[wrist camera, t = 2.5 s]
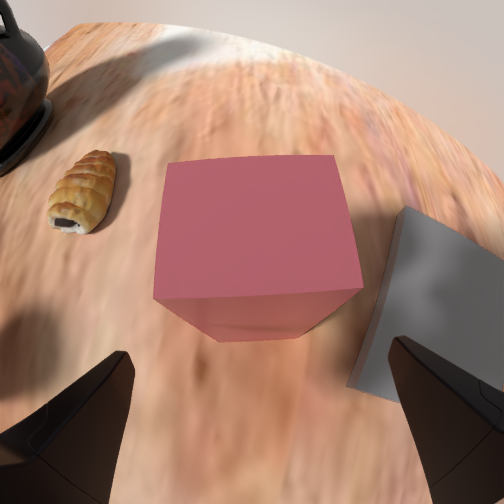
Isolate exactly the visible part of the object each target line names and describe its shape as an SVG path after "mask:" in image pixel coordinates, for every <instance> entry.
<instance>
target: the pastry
mask: <svg viewBox="0 0 504 504" xmlns="http://www.w3.org/2000/svg"><path fill="white" fill-rule="evenodd" d="M115 176H116V165H115V162H114V159H113V157H112V156H111V155H110V154H109V153H108V152H107V151H99V150H94V151H92V152H90V153H88V154H86V155H85V156H84V157H83V158H82V159H81V160H80V161H78V162H76V163H75V164H74V166H73V168H72V169H70V170H68V171H66V173H65V176H64V178H63V179H62V180H60V181H58V182H57V184H56V191H55V192H54V193H53V194H52V195H51V196H50V198H49V207H50V209H49V210H48V211H47V216H48V222H49V225H50V226H51V227H52V228H54V229H59V230H61V231H62V232H64V233H72V232H77V233H78V234H87V233H89V232H90V231H91V230H92V229H93V228H94V227H96V226H97V225H98V224H99V223H100V222H101V221H102V220H103V218H104V217H105V215H106V211H107V208H108V206H109V205H110V203H111V198H112V193H113V189H114V181H115Z"/></svg>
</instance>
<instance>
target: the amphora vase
mask: <svg viewBox="0 0 504 504" xmlns="http://www.w3.org/2000/svg"><path fill="white" fill-rule="evenodd" d="M0 15H1V16H2V20H3V23H4V25H0V175H2V174H4V173H6V172H7V171H8V170H10V169H11V168H12V167H13V166H15V165H16V164H17V163H18V162H19V161H20V160H21V159H22V158H23V157H25V155H26V154H27V153H28V152H29V151H30V150H31V149H32V148H33V147H34V145H35V144H36V143H37V142H38V140H39V139H40V138H41V136H42V135H43V133H44V132H45V130H46V129H47V127H48V125H49V123H50V121H51V119H52V117H53V112H54V106H53V103H52V101H51V100H49V99H46V98H45V96H46V93H47V89H48V85H49V78H50V69H49V63H48V61H47V58H46V56H45V53H44V51H43V49H42V48H41V47H40V45H38V43H37V41H36V40H35V39H34V38H33V37H32V36H30V35H29V34H28V33H26V32H25V31H23V30H21V29H19V28H18V26H17V23H16V20H15V18H14V15H13V13H12V10H11V8H10V6H9V4H8V3H7V1H6V0H0Z"/></svg>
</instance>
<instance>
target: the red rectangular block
mask: <svg viewBox="0 0 504 504" xmlns="http://www.w3.org/2000/svg"><path fill="white" fill-rule="evenodd" d="M363 288H364V285H363V279H362V273H361V268H360V262H359V257H358V252H357V247H356V242H355V237H354V233H353V228H352V223H351V219H350V215H349V211H348V206H347V202H346V198H345V194H344V191H343V187H342V183H341V179H340V176H339V172H338V168H337V165H336V161H335V158H334V155H275V156H249V157H231V158H217V159H205V160H194V161H185V162H176V163H168V166H167V172H166V178H165V185H164V191H163V198H162V206H161V214H160V222H159V231H158V240H157V251H156V262H155V275H154V291H153V299H154V300H156V301H157V302H158V303H160V304H161V305H163V306H164V307H166V308H167V309H169V310H170V311H171V312H173V313H174V314H176V315H177V316H179V317H180V318H182V319H183V320H185V321H186V322H188V323H189V324H191V325H193V326H194V327H196V328H197V329H199V330H200V331H202V332H203V333H205V334H207V335H208V336H210V337H211V338H213V339H215V340H216V341H218V342H240V341H262V340H278V339H291V338H298V337H300V336H301V335H302V334H304V333H305V332H307V331H308V330H309V329H311V328H312V327H314V326H315V325H316V324H318V323H319V322H320V321H322V320H323V319H324V318H326V317H327V316H328V315H330V314H331V313H332V312H334V311H335V310H336V309H337V308H339V307H340V306H341V305H343V304H344V303H345V302H346V301H348V300H349V299H350V298H352V297H353V296H354V295H355V294H357V293H358V292H359V291H360V290H361V289H363Z"/></svg>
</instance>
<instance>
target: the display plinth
mask: <svg viewBox="0 0 504 504" xmlns="http://www.w3.org/2000/svg"><path fill="white" fill-rule="evenodd" d="M401 335H405V336H407V337H409V338H411V339H412V340H414V341H416V342H418V343H419V344H421V345H423V346H424V347H426V348H428V349H430V350H431V351H433V352H435V353H436V354H438V355H440V356H441V357H443V358H445V359H447V360H448V361H450V362H452V363H453V364H455V365H457V366H458V367H460V368H462V369H464V370H465V371H467V372H469V373H470V374H472V375H474V376H475V377H477V378H478V379H481V380H482V381H484V382H486V383H487V384H489V385H491V386H493V387H495V388H496V389H498V390H500V391H502V387H503V383H504V261H503V260H501V259H500V258H498V257H497V256H495V255H494V254H492V253H491V252H489V251H488V250H486V249H484V248H483V247H481V246H479V245H478V244H476V243H475V242H473V241H471V240H470V239H468V238H466V237H464V236H463V235H461V234H459V233H458V232H456V231H454V230H452V229H450V228H449V227H447V226H445V225H443V224H441V223H439V222H438V221H436V220H434V219H432V218H430V217H428V216H426V215H424V214H422V213H420V212H418V211H416V210H414V209H412V208H410V207H408V206H405V207H404V208H403V210H402V211H401V212H400V213H399V215H398V216H397V218H396V224H395V229H394V234H393V238H392V243H391V247H390V252H389V256H388V260H387V264H386V268H385V272H384V276H383V280H382V284H381V287H380V291H379V294H378V298H377V301H376V305H375V308H374V311H373V314H372V317H371V321H370V324H369V327H368V330H367V333H366V335H365V338H364V341H363V344H362V347H361V350H360V352H359V355H358V358H357V360H356V363H355V365H354V368H353V371H352V373H351V376H350V378H349V380H348V383H347V385H346V386H347V387H349V388H352V389H355V390H358V391H361V392H364V393H368V394H371V395H374V396H377V397H380V398H384V399H387V400H390V401H394V402H397V403H400V400H399V397H398V394H397V391H396V387H395V383H394V380H393V376H392V372H391V369H390V365H389V362H388V352H389V349H390V346H391V343H392V340H393V338H394V337H396V336H401Z"/></svg>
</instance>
